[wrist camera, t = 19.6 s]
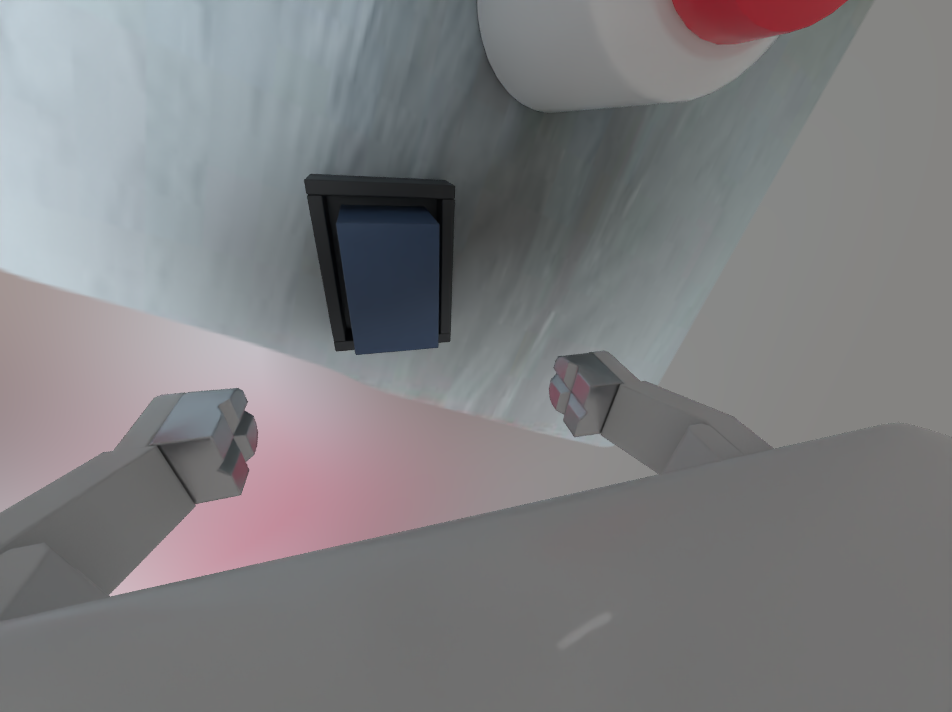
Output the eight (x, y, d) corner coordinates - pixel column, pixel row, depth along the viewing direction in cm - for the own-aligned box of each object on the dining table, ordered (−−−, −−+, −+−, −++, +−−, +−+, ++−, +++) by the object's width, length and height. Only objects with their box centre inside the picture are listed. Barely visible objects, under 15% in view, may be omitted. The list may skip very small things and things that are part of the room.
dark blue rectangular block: (340, 204, 16) (335, 222, 13) (424, 206, 17) (439, 224, 14) (356, 317, 19) (355, 355, 16) (426, 313, 20) (438, 347, 17)
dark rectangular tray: (309, 173, 16) (303, 179, 14) (445, 179, 17) (455, 185, 16) (337, 333, 20) (335, 351, 18) (443, 325, 22) (450, 342, 20)
